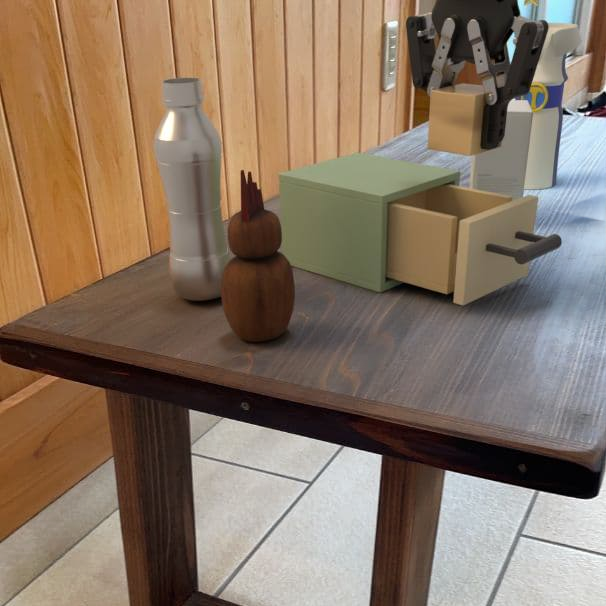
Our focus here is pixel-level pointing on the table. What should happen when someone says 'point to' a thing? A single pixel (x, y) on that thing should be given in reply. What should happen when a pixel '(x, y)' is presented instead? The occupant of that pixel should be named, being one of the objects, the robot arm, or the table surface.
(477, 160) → the small box
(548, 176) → the spray bottle
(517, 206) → the drawer
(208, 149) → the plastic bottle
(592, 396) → the table surface
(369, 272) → the cabinet
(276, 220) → the wooden figurine
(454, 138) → the block
